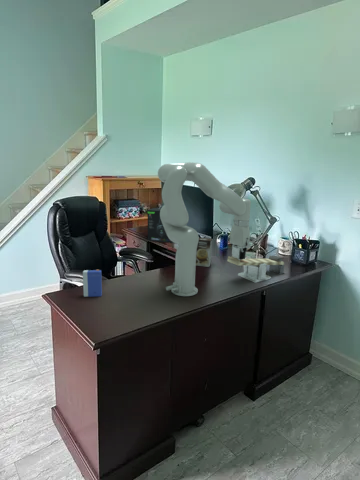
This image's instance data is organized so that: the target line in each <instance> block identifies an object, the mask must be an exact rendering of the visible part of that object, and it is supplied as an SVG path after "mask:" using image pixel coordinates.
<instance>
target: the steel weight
mask: <svg viewBox="0 0 360 480" xmlns="http://www.w3.org/2000/svg"><path fill="white" fill-rule="evenodd" d="M231 249H232V250H231V257H232V258H235V259H238V260H241V259H240V252H241V247H240V246H233V247H232V246H231ZM243 249H244V247H243ZM246 255H247V253H246V254H245V259H246V258H247V257H246Z"/></svg>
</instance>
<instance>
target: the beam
mask: <svg viewBox="0 0 360 480" xmlns="http://www.w3.org/2000/svg"><path fill="white" fill-rule="evenodd" d="M227 262H228V263H230V264H234V265H236V266H239V267H241V266H242V267H244V265H258V266H260V264H262V263H265V264H267V265H266V266H270V265H284V266H285V262H284V261H283V258H282V257H280V256H277V255H269V256H268V258H264V257H263V258H250V259H242V260H238V259H235V258H232V256H227Z"/></svg>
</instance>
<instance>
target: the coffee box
mask: <svg viewBox="0 0 360 480" xmlns="http://www.w3.org/2000/svg"><path fill="white" fill-rule="evenodd" d="M212 245H213V238H208V237H207V238H206V237H199V241H198V245H197V250H196V266H198V267H206V268H209V267H210V266H211V260H212V259H211V258H212Z"/></svg>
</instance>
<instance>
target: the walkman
mask: <svg viewBox="0 0 360 480" xmlns="http://www.w3.org/2000/svg"><path fill="white" fill-rule="evenodd" d="M102 279H103V278H102V269H93V270H91V269H86V270H85V269H84V270H83V271H82V283H83V284H82V285H83V286H82V288H83V297H88V298H90V297H102V295H103V286H102V285H103V284H102V282H103V280H102Z"/></svg>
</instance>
